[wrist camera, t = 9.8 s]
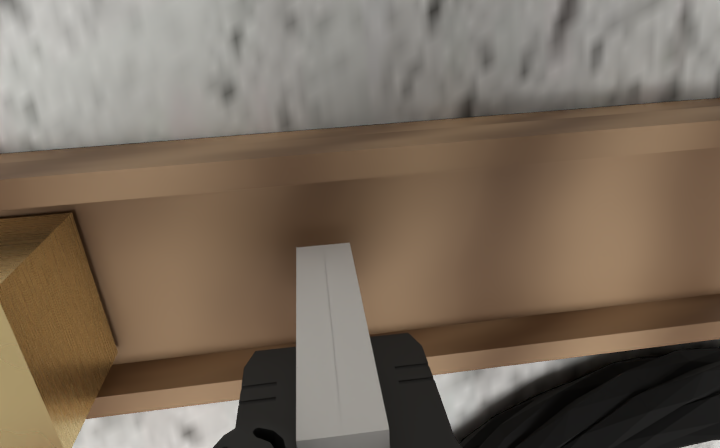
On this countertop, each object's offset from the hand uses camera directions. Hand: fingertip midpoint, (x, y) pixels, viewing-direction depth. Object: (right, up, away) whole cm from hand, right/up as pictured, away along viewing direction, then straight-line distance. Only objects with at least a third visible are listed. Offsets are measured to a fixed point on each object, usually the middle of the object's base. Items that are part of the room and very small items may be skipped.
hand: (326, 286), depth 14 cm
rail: (0, +1, +3) cm, 3 cm away
